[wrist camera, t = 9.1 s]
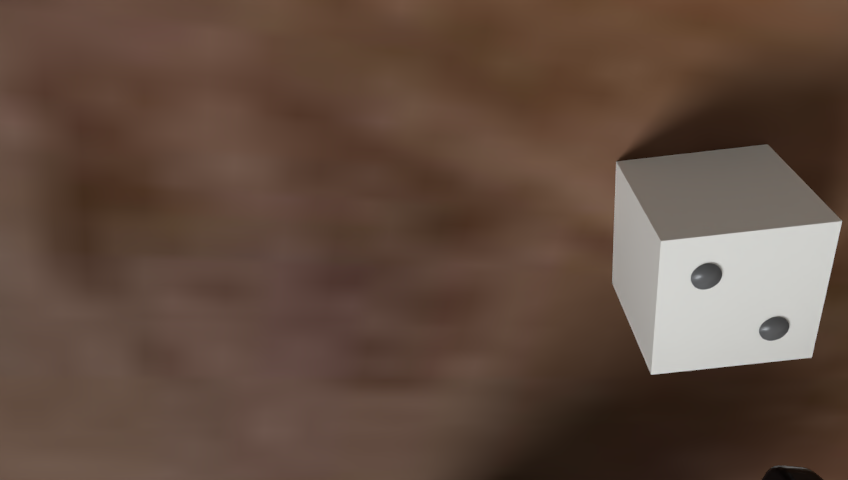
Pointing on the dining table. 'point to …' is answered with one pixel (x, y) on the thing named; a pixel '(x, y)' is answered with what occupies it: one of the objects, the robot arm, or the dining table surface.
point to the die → (720, 258)
